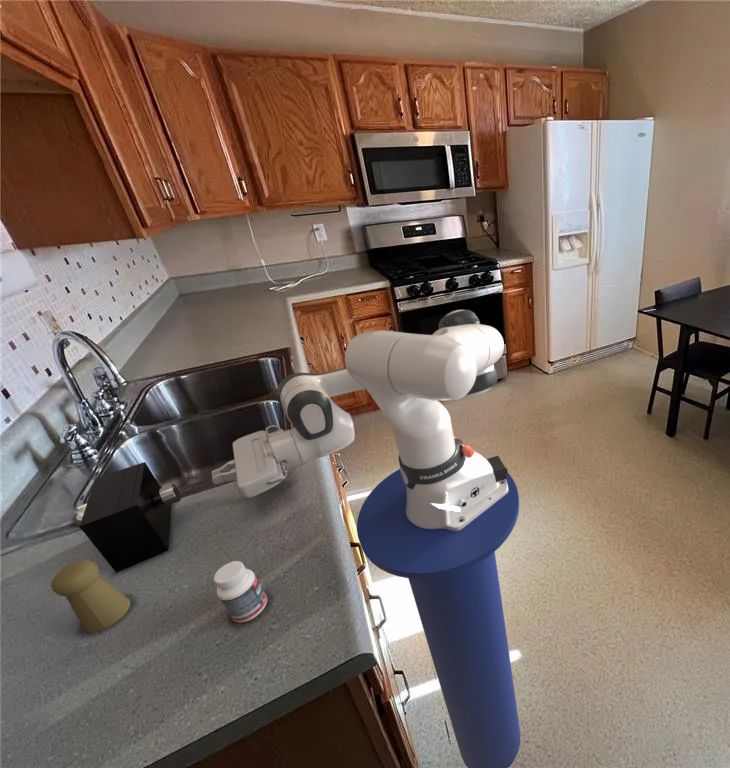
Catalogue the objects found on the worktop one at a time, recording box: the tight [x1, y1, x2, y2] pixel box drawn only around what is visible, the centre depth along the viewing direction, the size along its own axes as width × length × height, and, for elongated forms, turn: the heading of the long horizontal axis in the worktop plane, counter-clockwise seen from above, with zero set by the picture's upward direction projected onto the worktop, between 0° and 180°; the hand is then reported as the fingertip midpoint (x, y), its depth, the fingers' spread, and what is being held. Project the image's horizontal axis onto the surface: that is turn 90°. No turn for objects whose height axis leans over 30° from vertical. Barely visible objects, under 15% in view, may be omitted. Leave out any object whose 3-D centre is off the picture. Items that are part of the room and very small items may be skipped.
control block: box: [78, 461, 173, 574], centre depth 81 cm, size 8×16×12 cm, turn 35°
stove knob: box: [73, 503, 87, 527], centre depth 90 cm, size 7×7×3 cm
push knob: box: [150, 483, 182, 506], centre depth 83 cm, size 5×4×4 cm
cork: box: [50, 560, 131, 634], centre depth 66 cm, size 6×6×11 cm
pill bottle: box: [213, 560, 268, 624], centre depth 66 cm, size 5×5×9 cm
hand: (212, 478), depth 88 cm, fingers closed
